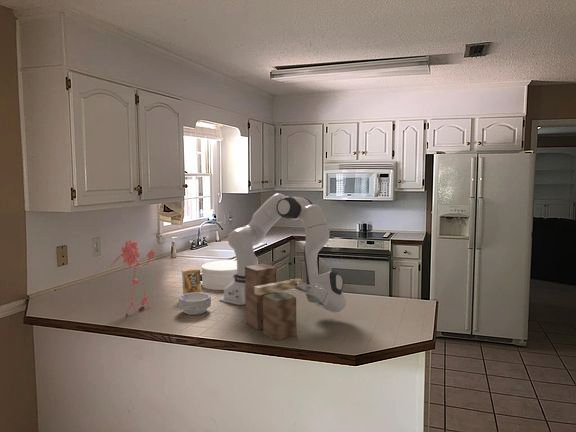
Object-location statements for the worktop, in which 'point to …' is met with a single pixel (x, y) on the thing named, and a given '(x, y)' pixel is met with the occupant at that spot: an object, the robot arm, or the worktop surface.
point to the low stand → (279, 315)
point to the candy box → (191, 281)
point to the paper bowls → (194, 303)
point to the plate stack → (218, 274)
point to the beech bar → (276, 286)
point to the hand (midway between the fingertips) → (293, 282)
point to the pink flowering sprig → (130, 257)
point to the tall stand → (254, 302)
